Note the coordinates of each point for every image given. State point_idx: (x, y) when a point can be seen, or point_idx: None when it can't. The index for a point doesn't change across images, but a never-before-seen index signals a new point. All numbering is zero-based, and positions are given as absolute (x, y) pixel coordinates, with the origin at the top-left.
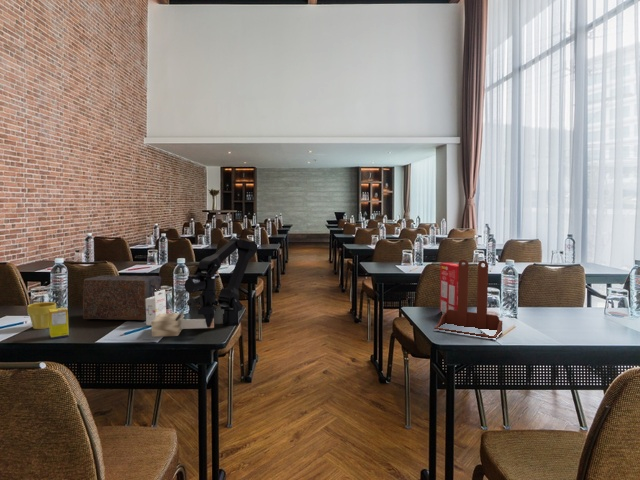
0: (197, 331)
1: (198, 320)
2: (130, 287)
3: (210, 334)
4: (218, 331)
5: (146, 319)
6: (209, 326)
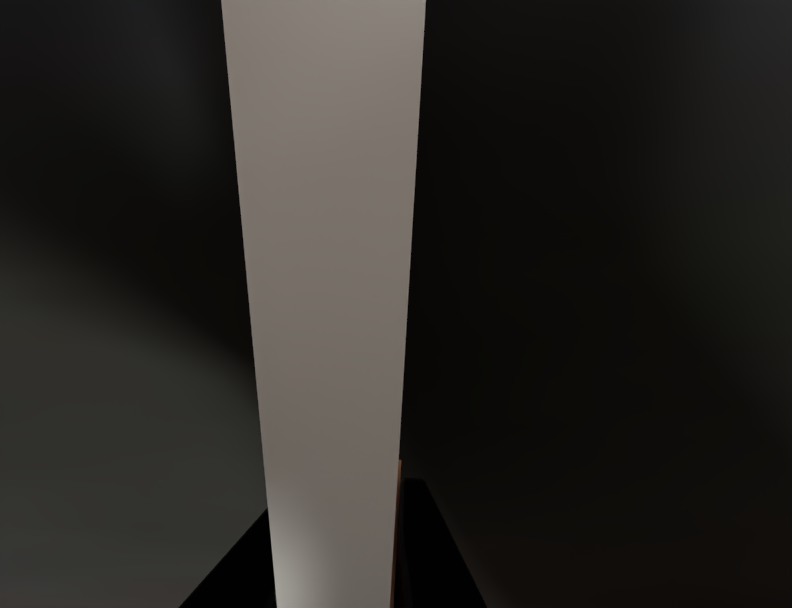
0: None
1: (273, 400)
2: None
3: (59, 459)
4: None
5: None
6: None
